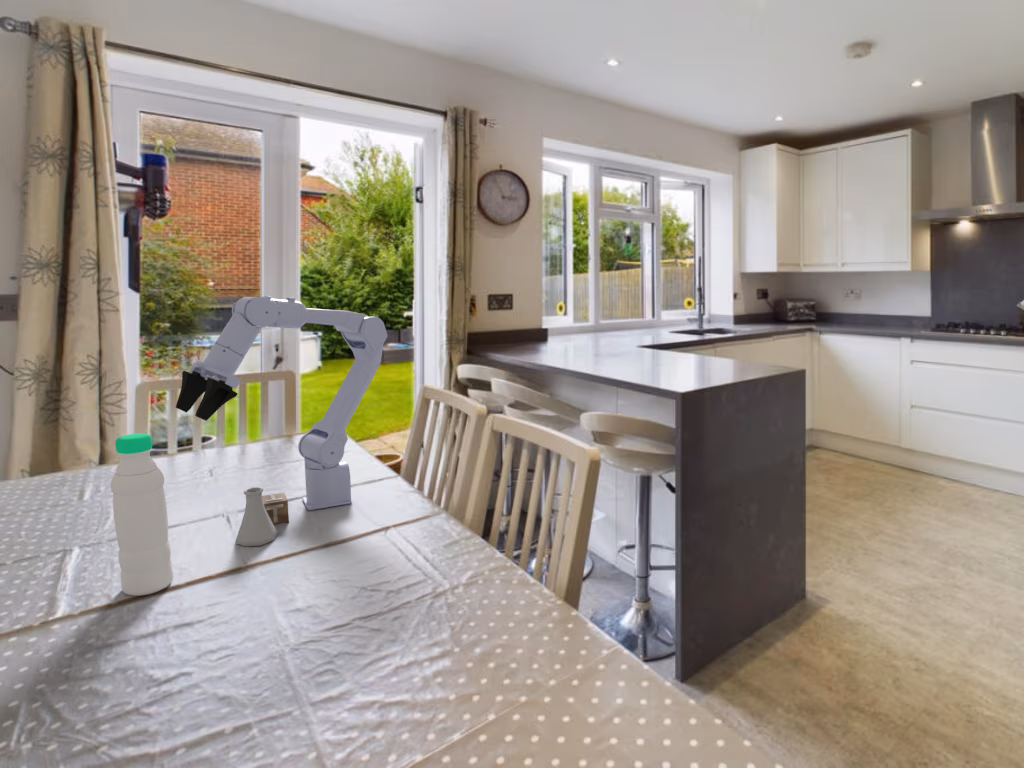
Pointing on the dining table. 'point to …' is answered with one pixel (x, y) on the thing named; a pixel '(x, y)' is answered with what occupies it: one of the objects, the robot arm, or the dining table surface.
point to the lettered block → (277, 508)
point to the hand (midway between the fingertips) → (190, 414)
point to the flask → (255, 521)
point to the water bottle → (140, 518)
